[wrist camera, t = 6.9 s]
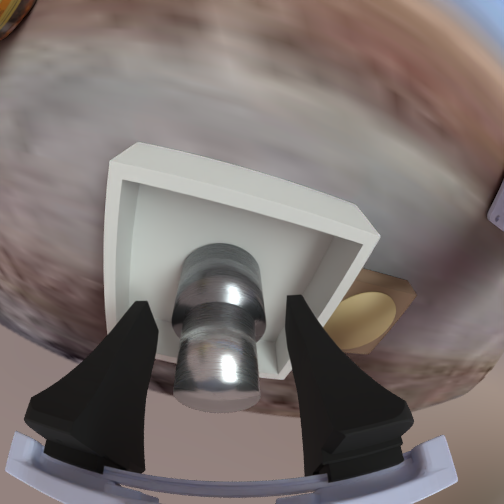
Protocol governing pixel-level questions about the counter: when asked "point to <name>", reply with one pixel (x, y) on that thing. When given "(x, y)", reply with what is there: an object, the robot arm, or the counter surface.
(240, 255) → the silver metal knob
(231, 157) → the counter surface
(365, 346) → the stud block
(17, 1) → the sauce bottle
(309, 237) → the bin
